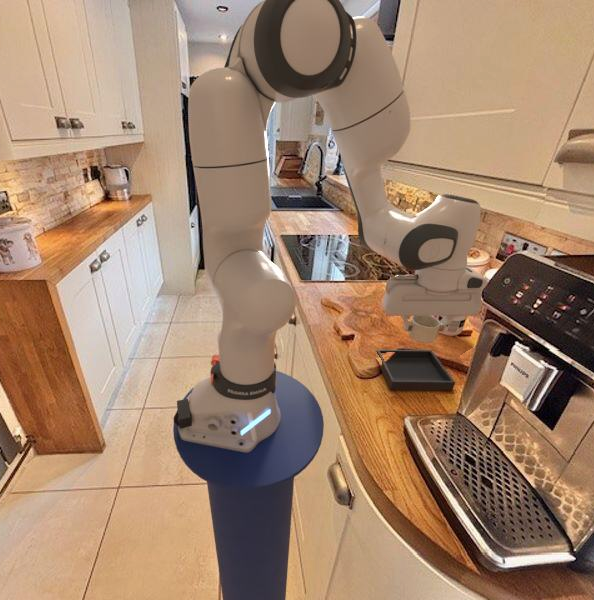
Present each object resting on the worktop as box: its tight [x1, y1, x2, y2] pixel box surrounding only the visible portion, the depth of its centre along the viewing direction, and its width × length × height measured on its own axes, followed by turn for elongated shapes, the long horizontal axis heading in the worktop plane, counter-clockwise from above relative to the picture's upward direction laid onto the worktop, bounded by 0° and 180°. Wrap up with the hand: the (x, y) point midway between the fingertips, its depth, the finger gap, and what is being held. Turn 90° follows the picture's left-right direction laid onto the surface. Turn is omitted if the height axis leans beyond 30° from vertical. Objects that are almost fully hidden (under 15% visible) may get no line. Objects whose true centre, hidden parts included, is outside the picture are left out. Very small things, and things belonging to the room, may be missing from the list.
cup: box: [407, 316, 441, 345], centre depth 75 cm, size 6×6×4 cm
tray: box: [375, 349, 456, 392], centre depth 80 cm, size 14×12×3 cm
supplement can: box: [433, 316, 468, 337], centre depth 94 cm, size 8×8×15 cm
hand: (423, 329), depth 75 cm, fingers closed on cup, 6 cm apart
